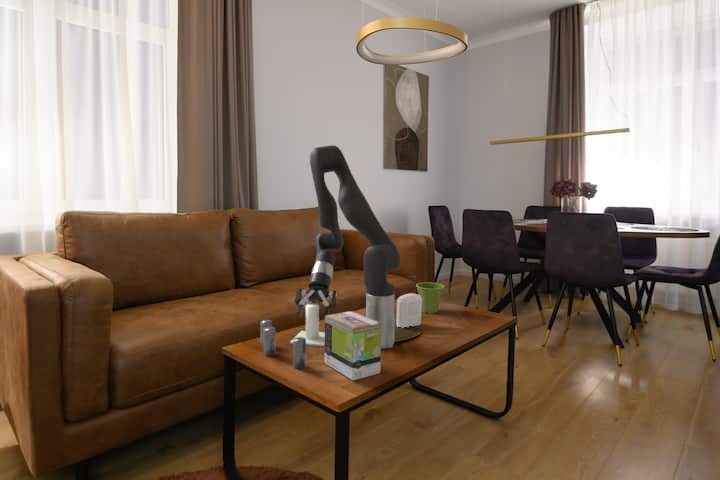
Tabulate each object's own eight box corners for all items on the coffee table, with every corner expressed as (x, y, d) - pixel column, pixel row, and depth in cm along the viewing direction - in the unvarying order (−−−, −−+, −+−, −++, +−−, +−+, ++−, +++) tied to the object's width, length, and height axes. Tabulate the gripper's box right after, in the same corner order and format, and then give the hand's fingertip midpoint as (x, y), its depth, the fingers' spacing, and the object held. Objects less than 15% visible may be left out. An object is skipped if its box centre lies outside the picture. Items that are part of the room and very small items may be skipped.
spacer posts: (344, 349, 140) (344, 325, 139) (330, 371, 122) (331, 344, 121) (263, 342, 145) (263, 319, 144) (239, 363, 127) (238, 336, 126)
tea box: (381, 373, 122) (382, 321, 120) (352, 382, 116) (352, 328, 114) (351, 356, 134) (352, 309, 132) (323, 363, 128) (323, 314, 127)
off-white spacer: (320, 335, 151) (320, 304, 149) (317, 339, 146) (316, 307, 145) (307, 334, 152) (307, 303, 150) (304, 338, 147) (303, 307, 146)
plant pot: (409, 310, 185) (410, 284, 184) (427, 306, 193) (427, 281, 192) (431, 317, 177) (432, 289, 175) (449, 311, 185) (450, 285, 183)
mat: (334, 334, 154) (334, 333, 154) (325, 346, 142) (325, 344, 142) (301, 332, 156) (301, 330, 156) (290, 343, 144) (290, 341, 144)
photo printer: (415, 322, 169) (416, 291, 168) (422, 325, 166) (423, 293, 164) (394, 326, 164) (395, 294, 162) (401, 329, 160) (402, 296, 159)
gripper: (299, 270, 155) (289, 310, 145) (338, 272, 153) (330, 313, 143) (304, 282, 161) (294, 321, 151) (342, 283, 158) (334, 323, 149)
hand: (312, 317), depth 147 cm, fingers open, 8 cm apart
